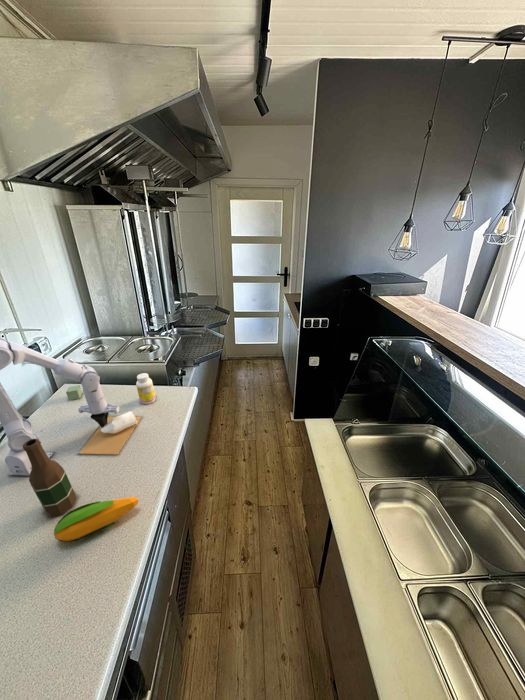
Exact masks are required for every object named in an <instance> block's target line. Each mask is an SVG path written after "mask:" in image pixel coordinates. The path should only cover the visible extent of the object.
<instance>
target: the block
mask: <svg viewBox="0 0 525 700" xmlns="http://www.w3.org/2000/svg"><path fill="white" fill-rule="evenodd" d="M65 394H66V396H67V399H68V401H74V400H78V399H79V400H80V399H81V398H82V394H83V390H82V388H81V384H78V385H73V386H72V385H71V386H68V387H67V389H66V391H65Z"/></svg>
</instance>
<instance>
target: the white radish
mask: <svg viewBox="0 0 525 700" xmlns="http://www.w3.org/2000/svg"><path fill="white" fill-rule="evenodd" d="M114 417H115V418H113V419H112V420H111V421H110V422H109V423H107V424H106V425H105V426H104V427H103V428H102V429H101V432H103V433H117V432H120V431H122V430H124V429H126V428H128V427H131V426H133V425H135V424H136V423H137V422H136V419H135V417H136V415H135V414H134V412H133V411H132V410H130V411H127V412H125V413H123V414H120V415H117V416H114Z"/></svg>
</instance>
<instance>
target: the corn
mask: <svg viewBox="0 0 525 700" xmlns="http://www.w3.org/2000/svg"><path fill="white" fill-rule="evenodd" d="M138 504H139V498H138V497H135V496H130V497H124V498H117V499H111V500H104V501H101V500H99V501H95V502H90V503H86V504H83V505H80V506H78V507H76V508H74V509H71V510H69V512H67V513H66V514H64V515H63V516H62V517H61V518H60V519H59V521H58V522H57V523H56V525H55V527H54V531H53V536H54V538H55V539H56V540H57V541H59V542H62V543H63V542H64V543H71V542H74V541H75V542H76V541H79V540H82V539H85V538H87V537H89V536H93V535H94V534H96V533H99V532H101V531H103V530H105V529H107V528H109V527H111V526H113V525H115V524H116V522H115V521H117V520H119V519H120V518H121V517H123V516H125V515H126V514H127V513H129V512H130V511H131V510H133V509H134V508H136V506H137V505H138Z"/></svg>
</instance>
